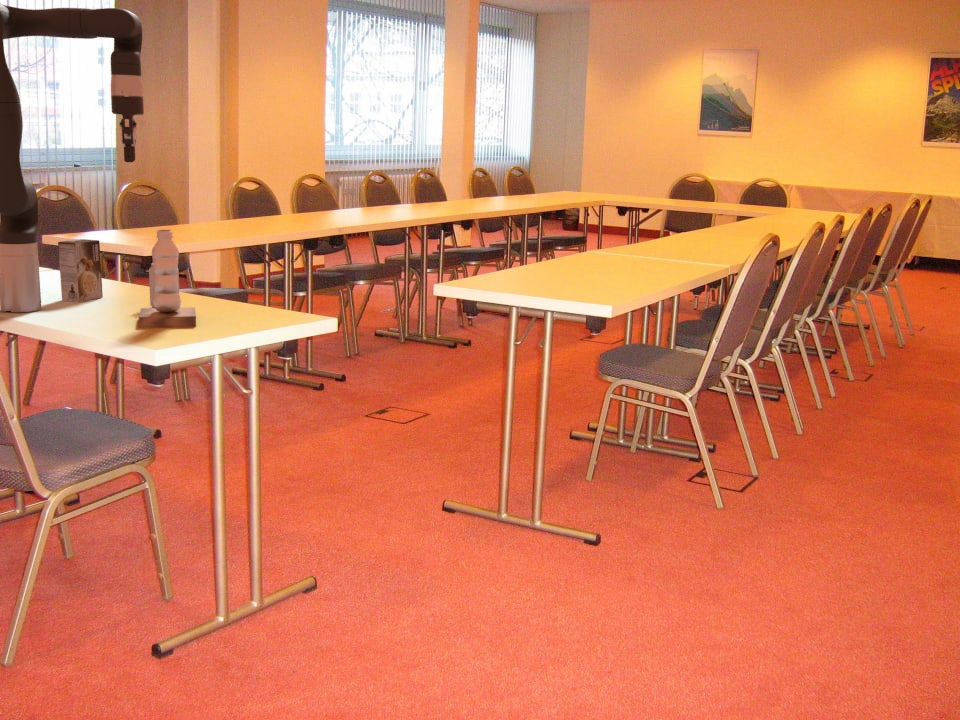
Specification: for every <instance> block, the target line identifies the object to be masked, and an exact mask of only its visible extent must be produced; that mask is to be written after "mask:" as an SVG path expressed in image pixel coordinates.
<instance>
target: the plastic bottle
mask: <svg viewBox="0 0 960 720" xmlns="http://www.w3.org/2000/svg"><path fill="white" fill-rule="evenodd" d="M156 238H157V240H156V243H155V244H154V245H153V247H152V250H151V256H152V257H151V258H152V263H153V264H154V271H155V293H154V300H153V303H154V308H155V309H156V310H157V311H160V312H165V313H170V312H174V311H177V310H179V308H181V304H182V299H181V295H180V288H179V289H178V281H177V271H179V268H178V267H179V255H180V251H179V249H178V247H177V245H176V244H175V242H174V241H173V238H174V235H173V229H157V230H156Z"/></svg>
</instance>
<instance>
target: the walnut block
mask: <svg viewBox="0 0 960 720" xmlns="http://www.w3.org/2000/svg"><path fill="white" fill-rule="evenodd" d="M138 325H139V326H138V327H139V328H179V327H180V328H181V327H182V328H183V327H185V328H186V327H188V328H189V327H190V328H191V327H197V316H196V307H180V308H179V310H177V311H174V312H170V313H165V312H160V311H157V310H156V309H155V308H153V307H146V308H145V307H144V308H143V307H142V308H140V311H139V315H138Z"/></svg>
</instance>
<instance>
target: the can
mask: <svg viewBox="0 0 960 720" xmlns="http://www.w3.org/2000/svg"><path fill="white" fill-rule="evenodd" d="M148 281H149V282H148V283H149V304H150V307H151V308H154V303H153V300H154V293H155V271H154V264H153V262H152V263H151V264H150V268H149V269H148ZM177 281H178V289H179V290H180V276H179V270H178V271H177Z"/></svg>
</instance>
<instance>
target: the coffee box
mask: <svg viewBox="0 0 960 720" xmlns="http://www.w3.org/2000/svg"><path fill="white" fill-rule="evenodd" d="M57 244H58V245H57V246H58V249H57V250H58V259H59V262H58V263H59V275H60V290H61V293H60V294H61V301H66V300H69V302H75V301H76V302H78V303H81V302H85V301H91V300H95V299H101V298H103V297H104V296H103V294H104V293H103V282H102V281H103V279H102V267H101V265H102V262H101V247H100V240H99V239H98V240H95V239H85V238H84V239H81V238H80V239H72V240H64V241H63V240H61V241H58V242H57Z"/></svg>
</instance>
